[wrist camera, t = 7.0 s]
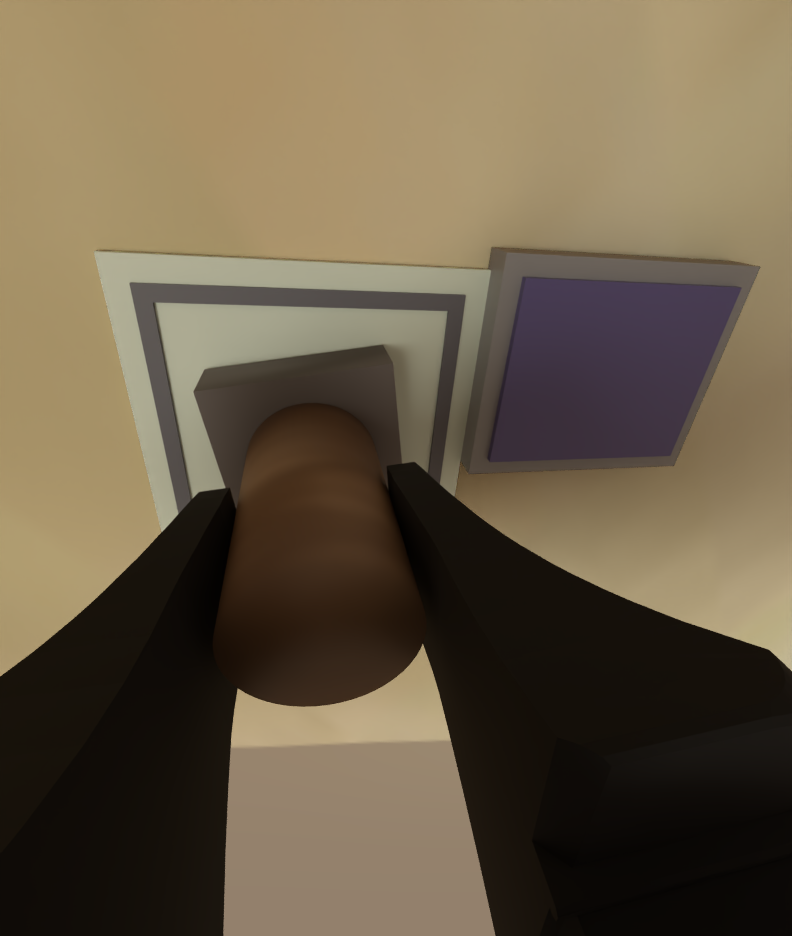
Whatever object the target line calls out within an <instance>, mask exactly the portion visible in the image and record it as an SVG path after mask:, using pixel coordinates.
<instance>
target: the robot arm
mask: <svg viewBox="0 0 792 936" xmlns="http://www.w3.org/2000/svg"><path fill="white" fill-rule="evenodd" d="M387 478H388V491H389V495H390V498H391V501H392V505H393V508H394V511H395V515H396V518H397V521H398V524H399V528H400V531H401V534H402V538H403V541H404V544H405V548H406V551H407V554H408V557H409V561H410V564H411V567H412V571H413V574H414V577H415V580H416V584H417V587H418V590H419V594H420V597H421V600H422V604H423V607H424V610H425V615H426V634H425V639H424V641H423V645H424V648H425V650H426V653H427V656H428V659H429V662H430V665H431V668H432V670H433V674H434V677H435V680H436V684H437V687H438V690H439V694H440V698H441V702H442V706H443V710H444V714H445V718H446V722H447V726H448V730H449V734H450V738H451V742H452V747H453V750H454V755H455V759H456V763H457V767H458V772H459V776H460V780H461V784H462V788H463V793H464V797H465V801H466V806H467V810H468V814H469V819H470V823H471V827H472V831H473V836H474V840H475V845H476V849H477V854H478V858H479V862H480V867H481V871H482V876H483V880H484V885H485V889H486V894H487V899H488V903H489V908H490V912H491V917H492V921H493V926H494V930H495V935H496V936H792V671H791V670H790V669H789V668H788V667H787V666H786V665H785V664H784V663H783V662H782V661H781V660H779V659H778V658H777V657H776V656H775V655H774V654H773V653H772V652H771V651H770V650H768V649H765V648H762V647H759V646H755V645H752V644H749V643H746V642H743V641H740V640H737V639H734V638H731V637H728V636H725V635H722V634H719V633H716V632H713V631H710V630H707V629H704V628H701V627H698V626H695V625H692V624H689V623H686V622H683V621H681V620H678V619H675V618H672V617H670V616H667V615H665V614H662V613H660V612H657V611H655V610H652V609H650V608H647V607H645V606H642V605H640V604H637V603H634V602H632V601H630V600H627V599H625V598H623V597H620V596H618V595H616V594H614V593H611V592H609V591H607V590H604V589H602V588H600V587H598V586H596V585H594V584H592V583H590V582H588V581H586V580H584V579H581V578H579V577H577V576H575V575H573V574H571V573H569V572H567V571H565V570H563V569H561V568H560V567H558V566H556V565H554V564H552V563H550V562H548V561H547V560H545V559H543V558H541V557H540V556H538V555H536V554H535V553H533V552H531V551H529V550H528V549H526V548H524V547H523V546H521V545H519V544H518V543H516V542H515V541H513V540H511V539H510V538H508V537H507V536H505V535H504V534H502V533H501V532H500V531H498V530H497V529H495V528H494V527H492V526H491V525H490V524H488V523H487V522H485V521H484V520H483V519H481V518H480V517H479V516H477V515H476V514H475V513H474V512H472V511H471V510H470V509H469V508H467V507H466V506H465V505H464V504H462V503H461V502H460V501H459V500H457V499H456V498H455V497H454V496H453V495H452V494H450V493H449V492H448V491H447V490H446V489H445V488H444V487H442V486H441V485H440V484H439V483H438V482H437V481H436V480H435V479H434V478H432V477H431V476H430V475H429V474H428V473H427V472H426V471H425V470H424V469H423V468H422V467H420V466H419V465H418V464H417V463H416V462H409V463H402V464H395V465H388V466H387ZM235 515H236V507H235V503H234V500H233V496H232V493H231V490H230V488H223V489H216V490H209V491H202V492H198V493H197V494H196V495H195V496H194V497H193V499H192V500H191V501H190V502H189V503H188V504H187V505H186V506H185V507H184V508H183V509H182V511H181V512H180V513H179V514H178V515H177V516H176V517H175V518H174V519H173V521H172V522H171V523H170V524H169V525H168V526H167V527H166V528H165V529H164V530H163V532H162V533H161V534H160V535H159V536H158V537H157V538H156V539H155V540H154V541H153V542H152V543H151V544H150V546H149V547H148V548H147V549H146V550H145V551H144V552H143V553H142V554H141V555H140V556H139V557H138V558H137V559H136V560H135V561H134V562H133V563H132V564H131V565H130V566H129V567H128V568H127V569H126V570H125V571H124V572H123V573H122V574H121V575H120V576H119V577H118V578H117V579H116V580H115V581H114V582H113V583H112V584H111V585H110V586H109V587H108V588H107V589H106V590H105V591H103V592H102V593H101V594H100V595H99V596H98V597H97V598H96V599H95V600H94V601H93V602H92V603H91V604H90V605H89V606H87V607H86V608H85V609H84V610H83V611H82V612H81V613H79V614H78V615H77V616H76V617H75V618H74V619H73V620H71V621H70V622H69V623H68V624H67V625H65V626H64V627H63V628H62V629H61V630H59V631H58V632H57V633H56V634H55V635H53V636H52V637H51V638H50V639H49V640H47V641H46V642H45V643H44V644H43V645H41V646H40V647H39V648H38V649H36V650H35V651H34V652H32V653H31V654H30V655H29V656H27V657H26V658H25V659H23V660H22V661H21V662H19V663H18V664H17V665H15V666H14V667H12V668H11V669H10V670H8V671H7V672H6V673H4V674H3V675H2V676H0V936H223V920H224V885H225V883H224V882H225V848H226V824H227V801H228V782H229V765H230V764H229V763H230V748H231V733H232V724H233V716H234V708H235V701H236V695H237V689H238V688H237V687H236V686H234V685H233V684H232V683H231V682H230V681H229V680H228V679H227V678H226V677H225V676H224V675H223V673H222V672H221V670H220V669H219V667H218V665H217V663H216V660H215V657H214V653H213V634H214V629H215V624H216V618H217V613H218V607H219V602H220V596H221V591H222V585H223V580H224V575H225V569H226V564H227V558H228V553H229V547H230V542H231V537H232V531H233V526H234V520H235Z"/></svg>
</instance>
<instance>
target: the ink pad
mask: <svg viewBox="0 0 792 936" xmlns="http://www.w3.org/2000/svg"><path fill="white" fill-rule="evenodd" d="M488 269H489V270H491V274H490V280H489V286H488V292H487V299H486V305H485V311H484V317H483V324H482V330H481V336H480V342H479V348H478V355H477V361H476V367H475V373H474V380H473V386H472V392H471V398H470V405H469V411H468V417H467V423H466V430H465V436H464V442H463V448H462V454H461V462H462V464H463V465H464V467H465V469H466V471H467V472H468V474H481V473H506V472H531V471H556V470H582V469H607V468H632V467H657V466H674V465H675V462H676V460H677V458H678V455H679V453H680V451H681V448H682V446H683V444H684V442H685V439H686V437H687V435H688V432H689V430H690V428H691V425H692V423H693V421H694V419H695V416H696V414H697V412H698V409H699V407H700V405H701V402H702V400H703V398H704V396H705V393H706V391H707V389H708V386H709V384H710V382H711V379H712V377H713V375H714V373H715V370H716V368H717V366H718V363H719V361H720V359H721V356H722V354H723V352H724V350H725V347H726V345H727V343H728V340H729V338H730V336H731V333H732V331H733V329H734V327H735V324H736V322H737V320H738V317H739V315H740V313H741V310H742V308H743V306H744V304H745V301H746V299H747V297H748V294H749V292H750V290H751V287H752V285H753V283H754V281H755V278H756V276H757V274H758V271H759V269H760V266H755V265H749V264H744V263H738V262H733V261H721V260H704V259H686V258H669V257H651V256H634V255H617V254H599V253H582V252H564V251H547V250H529V249H512V248H494V247H492V249H491V255H490V261H489V268H488Z"/></svg>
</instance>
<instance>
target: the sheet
mask: <svg viewBox="0 0 792 936" xmlns="http://www.w3.org/2000/svg"><path fill="white" fill-rule="evenodd" d="M94 255H95V259H96V263H97V267H98V271H99V275H100V279H101V283H102V288H103V292H104V296H105V300H106V304H107V308H108V312H109V317H110V321H111V325H112V329H113V333H114V337H115V341H116V346H117V350H118V354H119V358H120V362H121V366H122V370H123V374H124V379H125V383H126V387H127V391H128V395H129V399H130V403H131V408H132V412H133V416H134V420H135V424H136V428H137V432H138V436H139V441H140V445H141V449H142V453H143V457H144V461H145V465H146V470H147V474H148V478H149V482H150V486H151V490H152V494H153V498H154V503H155V507H156V511H157V515H158V519H159V523H160V527H161V532H163V530H164V529H165V528H166V527H167V526H168V525H169V524H170V523H171V522H172V521H173V519H174V518H175V517H176V516H177V515H178V514H179V513H180V512H181V511H182V509H183V508H184V507H185V506H186V505H187V504H188V503H189V502H190V501H191V500H192V499H193V497H194V496H195V495H196V494H197V493H198V492H202V491H209V490H216V489H223V488H225V485H224V482H223V479H222V476H221V473H220V470H219V467H218V464H217V461H216V458H215V455H214V452H213V449H212V446H211V443H210V440H209V437H208V434H207V431H206V428H205V426H204V423H203V420H202V417H201V414H200V411H199V408H198V405H197V402H196V399H195V396H194V393H193V391H194V389H195V387H196V385H197V383H198V381H199V379H200V377H201V375H202V373H203V371H204V369H211V368H218V367H225V366H232V365H240V364H247V363H254V362H261V361H269V360H276V359H283V358H290V357H297V356H305V355H312V354H319V353H326V352H334V351H341V350H348V349H355V348H363V347H370V346H377V345H383V346H384V348H385V349H386V351H387V353H388V355H389V357H390V358H391V360H392V362H393V367H394V379H395V390H396V401H397V412H398V423H399V435H400V446H401V457H402V463H409V462H416V463H417V464H418V465H419V466H420V467H422V468H423V469H424V470H425V471H426V472H427V473H428V474H429V475H430V476H431V477H432V478H434V479H435V480H436V481H437V482H438V483H439V484H440V485H441V486H442V487H444V488H445V489H446V490H447V491H448V492H449V493H450V494H452V495H453V496H454V497H455V492H456V486H457V479H458V473H459V467H460V461H461V454H462V448H463V442H464V436H465V430H466V423H467V417H468V411H469V405H470V398H471V392H472V386H473V380H474V373H475V367H476V361H477V355H478V348H479V342H480V336H481V330H482V324H483V317H484V311H485V305H486V299H487V292H488V286H489V280H490V274H491V270H489V269H478V268H457V267H436V266H415V265H394V264H374V263H353V262H332V261H311V260H290V259H269V258H248V257H228V256H207V255H186V254H165V253H144V252H123V251H102V250H96V251H94Z"/></svg>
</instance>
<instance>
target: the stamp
mask: <svg viewBox="0 0 792 936" xmlns="http://www.w3.org/2000/svg"><path fill="white" fill-rule="evenodd" d="M193 393H194V396H195V399H196V402H197V405H198V408H199V411H200V414H201V417H202V420H203V423H204V426H205V428H206V431H207V434H208V437H209V440H210V443H211V446H212V449H213V452H214V455H215V458H216V461H217V464H218V467H219V470H220V473H221V476H222V479H223V482H224V485H225V488H230V490H231V493H232V496H233V500H234V503H235V507H236V515H235V520H234V526H233V531H232V537H231V542H230V547H229V553H228V558H227V564H226V569H225V575H224V580H223V585H222V591H221V596H220V602H219V607H218V613H217V618H216V624H215V629H214V634H213V653H214V657H215V660H216V663H217V665H218V667H219V669H220V670H221V672H222V673H223V675H224V676H225V677H226V678H227V679H228V680H229V681H230V682H231V683H232V684H233V685H234V686H236V687H237V688H238V689H240V690H242V691H243V692H245V693H247V694H249V695H251V696H253V697H255V698H258V699H261V700H264V701H267V702H271V703H275V704H280V705H287V706H301V707H305V706H322V705H330V704H335V703H340V702H344V701H348V700H352V699H355V698H358V697H360V696H363V695H366V694H368V693H370V692H372V691H375V690H376V689H378V688H380V687H382V686H384V685H385V684H387V683H388V682H390V681H391V680H393V679H394V678H395V677H397V676H398V675H399V674H400V673H402V672H403V671H404V670H405V669H406V668H407V667H408V666H409V665H410V663H411V662H412V661H413V660H414V658H415V657H416V655H417V654H418V652H419V650H420V648H421V646H422V644H423V641H424V639H425V634H426V615H425V610H424V607H423V604H422V600H421V597H420V594H419V590H418V587H417V584H416V580H415V577H414V574H413V571H412V567H411V564H410V561H409V557H408V554H407V551H406V548H405V544H404V541H403V538H402V534H401V531H400V528H399V524H398V521H397V518H396V515H395V511H394V508H393V505H392V501H391V498H390V495H389V491H388V478H387V466H388V465H395V464H402V457H401V446H400V435H399V423H398V412H397V401H396V390H395V379H394V367H393V362H392V360H391V358H390V357H389V355H388V353H387V351H386V349H385V348H384V346H383V345H377V346H370V347H363V348H355V349H348V350H341V351H334V352H326V353H319V354H312V355H305V356H297V357H290V358H283V359H276V360H269V361H261V362H254V363H247V364H240V365H232V366H225V367H218V368H211V369H204V371H203V373H202V375H201V377H200V379H199V381H198V383H197V385H196V387H195V389H194V391H193Z"/></svg>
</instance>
